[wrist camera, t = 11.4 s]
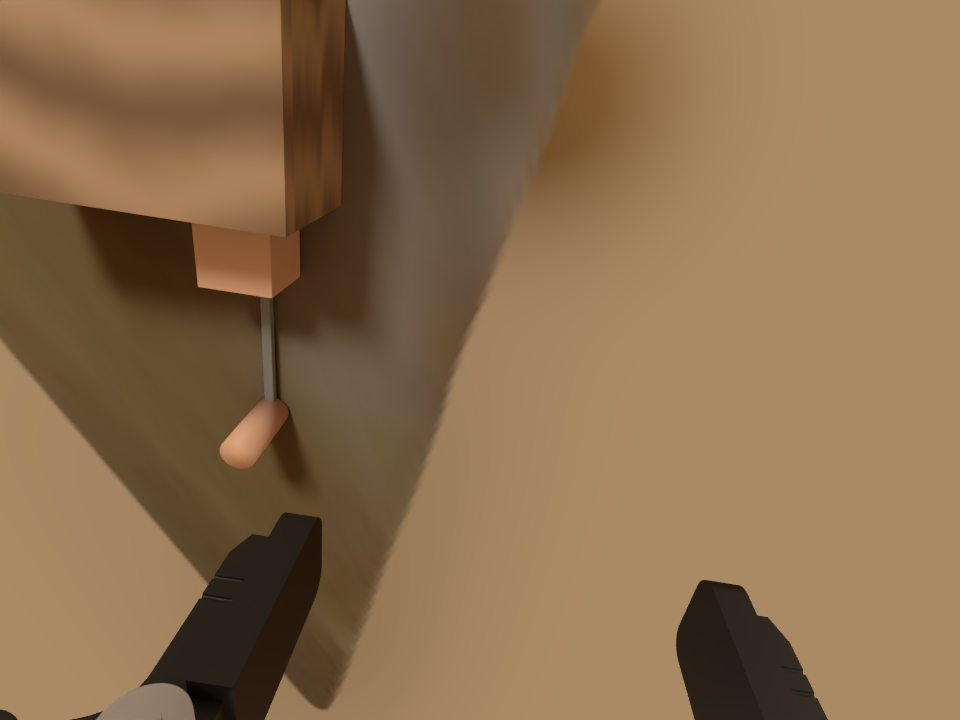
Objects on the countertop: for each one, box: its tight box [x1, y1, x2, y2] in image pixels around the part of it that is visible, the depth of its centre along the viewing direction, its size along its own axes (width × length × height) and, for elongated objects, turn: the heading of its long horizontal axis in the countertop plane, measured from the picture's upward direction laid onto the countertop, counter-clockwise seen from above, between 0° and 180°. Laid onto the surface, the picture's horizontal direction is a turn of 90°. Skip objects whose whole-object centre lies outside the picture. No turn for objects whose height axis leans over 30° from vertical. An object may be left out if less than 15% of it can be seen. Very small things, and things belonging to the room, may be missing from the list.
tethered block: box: [192, 223, 300, 469], centre depth 37 cm, size 18×5×6 cm, turn 172°
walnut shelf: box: [0, 0, 346, 237], centre depth 29 cm, size 12×20×9 cm, turn 82°
